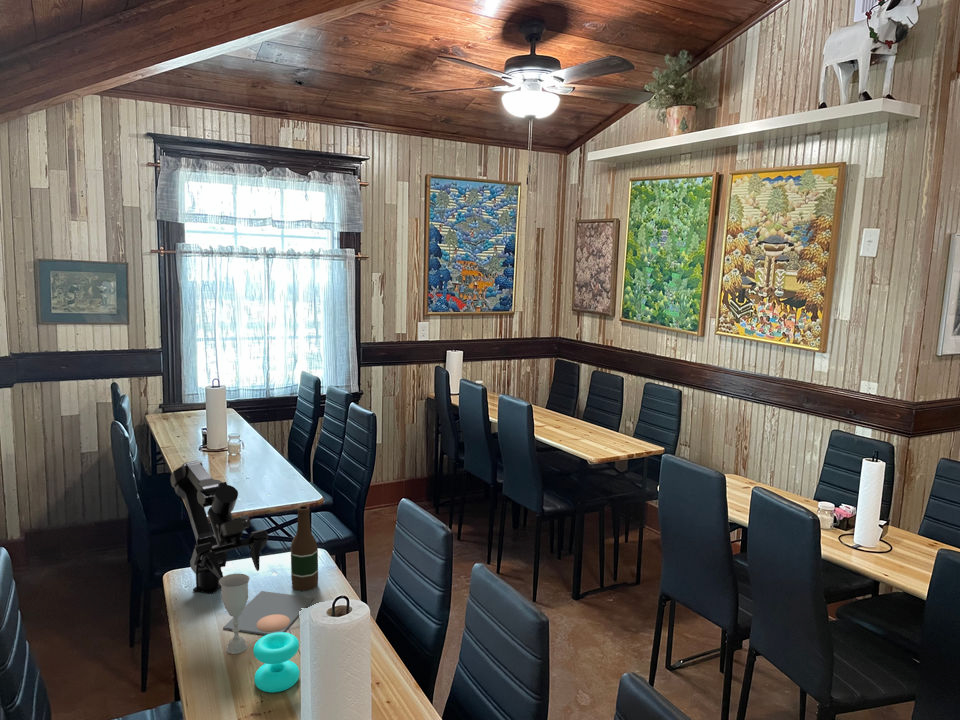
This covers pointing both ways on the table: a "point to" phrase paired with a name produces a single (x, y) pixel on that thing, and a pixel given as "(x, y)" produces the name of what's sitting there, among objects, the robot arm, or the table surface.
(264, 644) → the turquoise spool
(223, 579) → the chalice
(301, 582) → the beer bottle
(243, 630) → the mat
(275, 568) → the table surface
